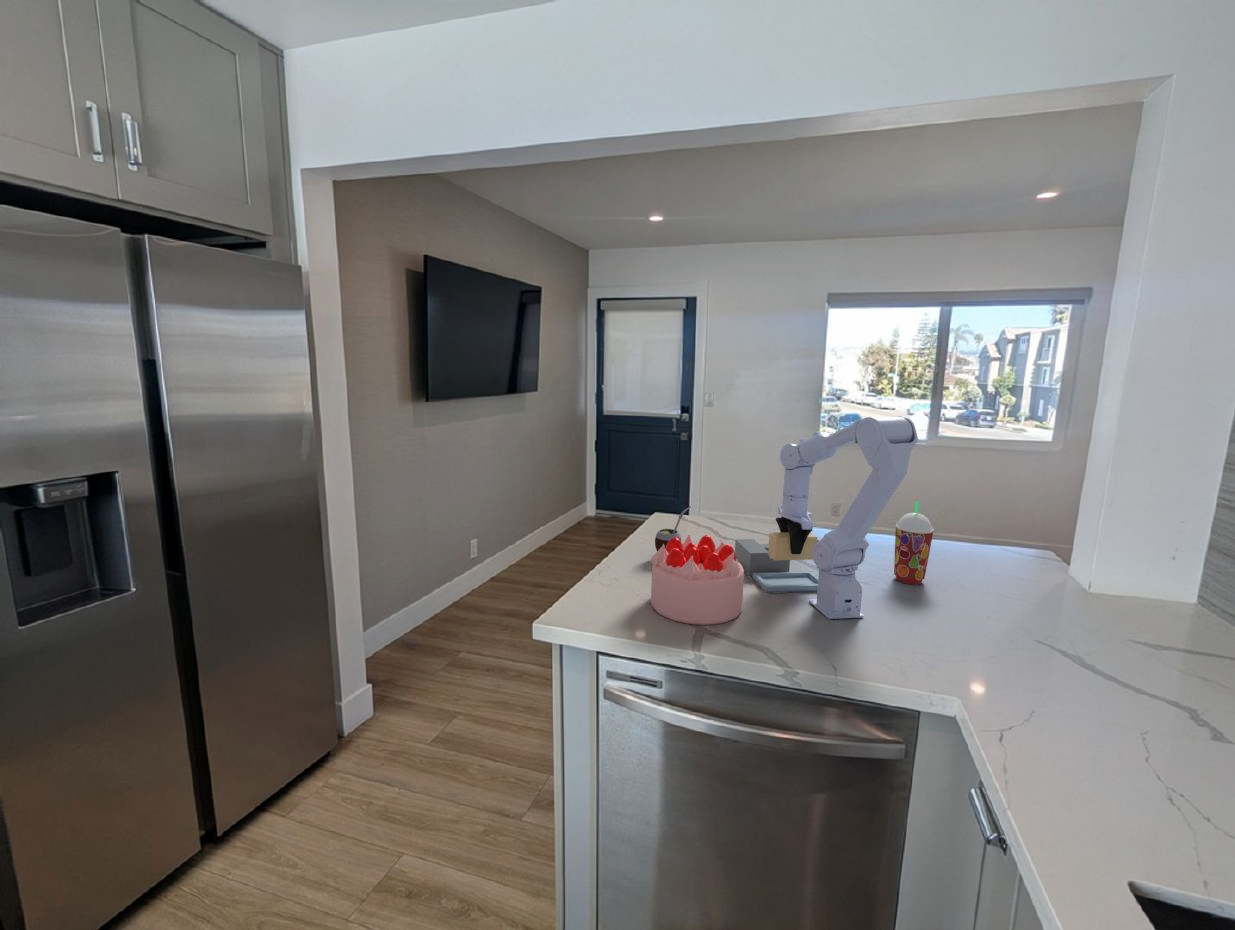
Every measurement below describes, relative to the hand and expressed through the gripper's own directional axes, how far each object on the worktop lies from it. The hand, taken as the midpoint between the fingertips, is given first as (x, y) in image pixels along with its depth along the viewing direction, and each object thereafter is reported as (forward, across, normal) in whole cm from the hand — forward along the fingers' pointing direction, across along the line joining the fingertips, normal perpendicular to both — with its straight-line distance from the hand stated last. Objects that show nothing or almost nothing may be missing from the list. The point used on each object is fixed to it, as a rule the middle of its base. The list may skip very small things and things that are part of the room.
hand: (791, 550), depth 139 cm
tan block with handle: (+2, 0, 0) cm, 2 cm away
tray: (+9, 0, 0) cm, 9 cm away
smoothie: (+9, 0, -31) cm, 32 cm away
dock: (+9, +12, +3) cm, 15 cm away
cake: (+9, -10, +26) cm, 29 cm away
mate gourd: (+9, +20, +25) cm, 33 cm away
